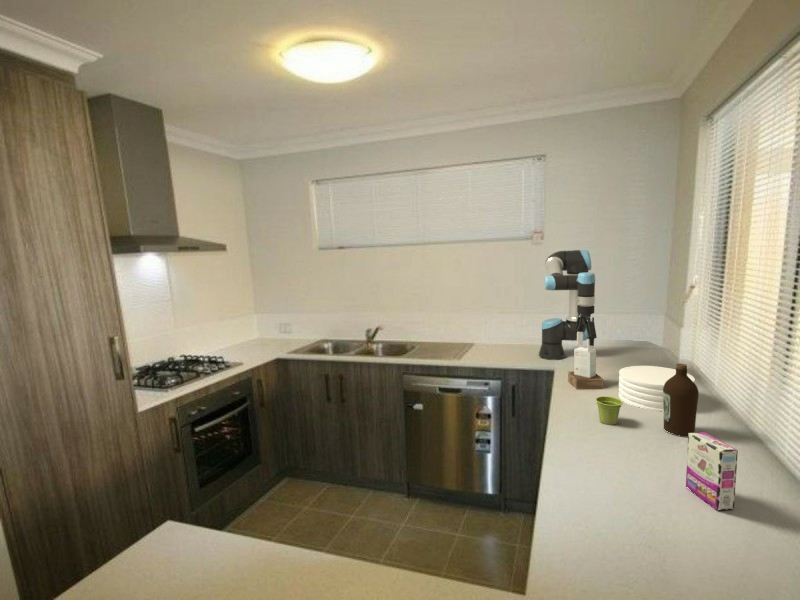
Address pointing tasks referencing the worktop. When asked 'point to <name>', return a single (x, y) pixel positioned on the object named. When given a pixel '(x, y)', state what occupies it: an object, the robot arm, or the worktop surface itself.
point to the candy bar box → (711, 470)
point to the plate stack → (645, 385)
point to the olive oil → (680, 403)
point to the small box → (584, 362)
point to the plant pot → (608, 409)
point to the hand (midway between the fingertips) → (585, 348)
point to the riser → (585, 381)
